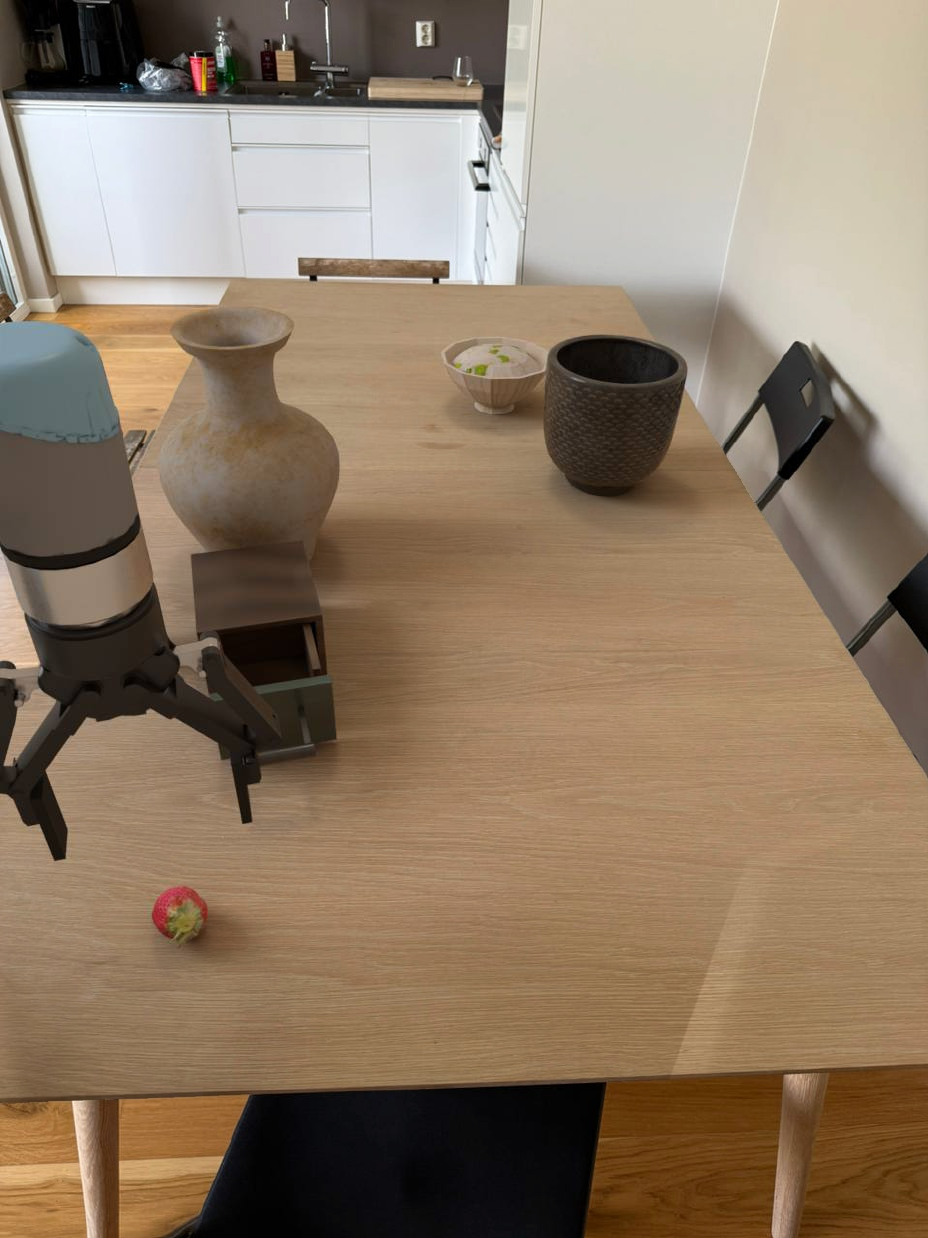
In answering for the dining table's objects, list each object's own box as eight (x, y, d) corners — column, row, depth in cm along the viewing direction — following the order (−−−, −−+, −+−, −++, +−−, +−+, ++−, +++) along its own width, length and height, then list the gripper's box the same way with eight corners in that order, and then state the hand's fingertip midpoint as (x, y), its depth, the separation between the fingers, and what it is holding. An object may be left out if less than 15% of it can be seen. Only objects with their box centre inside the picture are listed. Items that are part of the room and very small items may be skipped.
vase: (249, 493, 130) (221, 283, 111) (376, 535, 122) (368, 316, 103) (140, 566, 114) (86, 336, 96) (277, 619, 106) (246, 380, 88)
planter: (577, 523, 126) (592, 396, 114) (514, 461, 140) (522, 343, 128) (691, 497, 133) (717, 374, 121) (621, 441, 147) (638, 326, 135)
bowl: (431, 424, 150) (431, 367, 143) (448, 379, 165) (449, 326, 159) (545, 434, 148) (550, 376, 142) (552, 388, 163) (557, 334, 157)
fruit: (198, 887, 77) (188, 851, 73) (219, 942, 72) (210, 906, 69) (148, 908, 75) (136, 871, 72) (167, 965, 71) (155, 929, 68)
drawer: (347, 785, 85) (343, 726, 80) (225, 808, 82) (213, 749, 78) (316, 656, 100) (311, 600, 95) (212, 672, 97) (202, 615, 92)
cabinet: (328, 683, 98) (322, 614, 92) (210, 703, 95) (196, 632, 89) (309, 606, 109) (302, 539, 103) (203, 621, 106) (190, 553, 100)
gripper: (289, 535, 59) (314, 760, 72) (-127, 586, 53) (-18, 821, 66) (305, 601, 53) (328, 832, 66) (-160, 666, 47) (-33, 906, 60)
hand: (155, 827), depth 66 cm, fingers open, 12 cm apart
